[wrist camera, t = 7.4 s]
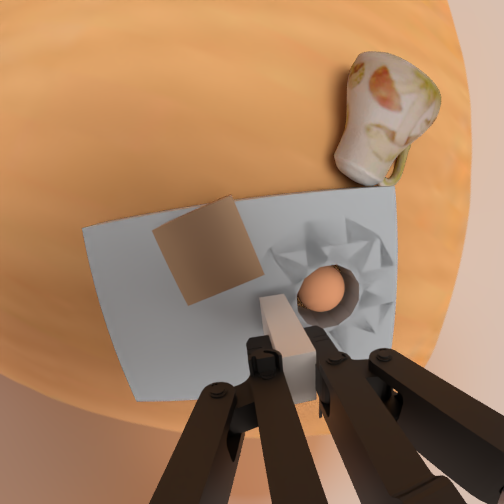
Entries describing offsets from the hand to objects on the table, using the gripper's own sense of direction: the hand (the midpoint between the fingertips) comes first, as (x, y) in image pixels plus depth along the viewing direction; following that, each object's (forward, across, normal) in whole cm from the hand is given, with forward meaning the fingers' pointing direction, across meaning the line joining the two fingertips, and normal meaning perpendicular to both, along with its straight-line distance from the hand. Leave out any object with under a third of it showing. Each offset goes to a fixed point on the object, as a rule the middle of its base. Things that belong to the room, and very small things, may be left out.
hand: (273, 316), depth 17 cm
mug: (+5, +10, +12) cm, 16 cm away
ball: (+3, +4, 0) cm, 5 cm away
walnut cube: (+1, -3, +5) cm, 6 cm away
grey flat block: (+5, -1, 0) cm, 5 cm away
